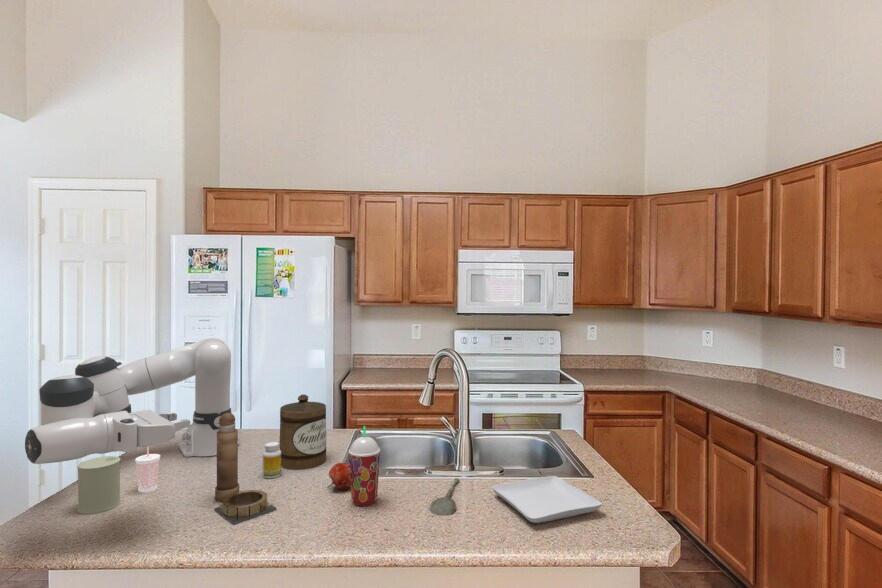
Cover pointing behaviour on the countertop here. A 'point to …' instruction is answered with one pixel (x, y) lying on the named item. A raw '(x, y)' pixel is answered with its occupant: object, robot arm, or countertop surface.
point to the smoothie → (364, 470)
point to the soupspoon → (444, 503)
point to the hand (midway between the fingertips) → (182, 419)
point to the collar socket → (244, 506)
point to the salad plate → (546, 498)
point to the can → (98, 484)
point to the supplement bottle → (271, 460)
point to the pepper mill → (227, 458)
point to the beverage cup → (147, 471)
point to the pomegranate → (340, 475)
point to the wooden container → (302, 434)
